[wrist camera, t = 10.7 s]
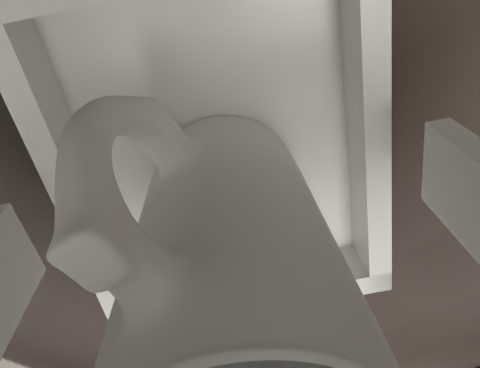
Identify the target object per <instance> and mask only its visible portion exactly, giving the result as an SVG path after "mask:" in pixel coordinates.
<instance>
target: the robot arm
mask: <svg viewBox="0 0 480 368" xmlns="http://www.w3.org/2000/svg"><path fill="white" fill-rule="evenodd" d="M421 199H422V200H423V201H424V202H425V203H426V204H427V205H428V207H429V208H430V209H431V210H432V211H433V212H434V213H435V215H436V216H437V217H438V218H439V219H440V220H441V221H442V223H443V224H444V225H445V226H446V227H447V228H448V229H449V231H450V232H451V233H452V234H453V235H454V236H455V237H456V238H457V240H458V241H459V242H460V243H461V244H462V245H463V246H464V248H465V249H466V250H467V251H468V252H469V253H470V254H471V256H472V257H473V258H474V259H475V260H476V261H477V262H478V264H479V265H480V137H479V136H477V135H476V134H474V133H473V132H471V131H470V130H468V129H467V128H465V127H464V126H462V125H461V124H459V123H458V122H456V121H455V120H453V119H452V118H445V119H440V120H435V121H429V122H425V133H424V153H423V172H422V192H421ZM45 271H46V268H45V266H44V264H43V262H42V260H41V259H40V257H39V255H38V253H37V251H36V249H35V248H34V246H33V244H32V242H31V240H30V239H29V237H28V235H27V233H26V231H25V229H24V228H23V226H22V224H21V222H20V220H19V218H18V217H17V215H16V213H15V211H14V209H13V208H12V206H11V204H10V203H7V204H2V205H0V360H1V358H2V356H3V354H4V352H5V350H6V348H7V346H8V344H9V342H10V340H11V338H12V336H13V334H14V332H15V330H16V328H17V326H18V324H19V322H20V320H21V318H22V316H23V314H24V312H25V310H26V308H27V307H28V305H29V303H30V301H31V299H32V297H33V295H34V293H35V291H36V289H37V287H38V285H39V283H40V281H41V279H42V277H43V275H44V273H45Z"/></svg>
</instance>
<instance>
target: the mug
mask: <svg viewBox="0 0 480 368" xmlns="http://www.w3.org/2000/svg"><path fill="white" fill-rule="evenodd" d="M117 136H124V137H126V138H128V139H130V140H132V141H133V142H135V143H136V144H138V145H139V146H140V147H141V148H142V149H143V150H144V151H145V152H146V153H147V155H148V156H149V157H150V158H151V159H152V161H153V162H154V163H155V165H156V168H155V170H154V173H153V176H152V179H151V182H150V185H149V188H148V192H147V195H146V198H145V202H144V205H143V209H142V212H141V215H140V219H139V222H138V223H137V221H136V220H135V219H134V217H133V216H132V214H131V212H130V210H129V208H128V207H127V205H126V203H125V201H124V199H123V197H122V194H121V192H120V189H119V187H118V184H117V181H116V178H115V174H114V171H113V166H112V156H111V154H112V146H113V142H114V139H115V138H116V137H117ZM46 258H47V261H48V262H49V263H50V264H51V265H53V266H55V267H56V268H58V269H59V270H61V271H62V272H64V273H65V274H67V275H68V276H69V277H70V278H72V279H73V280H74V281H75V282H77V283H78V284H79V285H80V286H82V287H83V288H84V289H86V290H87V291H90V292H93V293H100V292H104V291H109V292H110V293H111V294H112V295H113V296H114V297H115V300H114V303H113V306H112V310H111V313H110V316H109V319H108V323H107V326H106V329H105V332H104V336H103V339H102V342H101V346H100V349H99V352H98V355H97V359H96V362H95V366H94V368H400V367H399V365H398V363H397V361H396V359H395V357H394V355H393V353H392V351H391V349H390V347H389V345H388V343H387V341H386V339H385V337H384V335H383V333H382V331H381V329H380V327H379V325H378V323H377V321H376V319H375V317H374V315H373V313H372V311H371V309H370V307H369V305H368V303H367V301H366V299H365V297H364V295H363V293H362V291H361V289H360V287H359V285H358V283H357V282H356V280H355V278H354V276H353V274H352V272H351V270H350V268H349V266H348V264H347V262H346V260H345V258H344V256H343V254H342V252H341V250H340V248H339V246H338V244H337V242H336V240H335V239H334V237H333V235H332V233H331V231H330V229H329V227H328V225H327V223H326V221H325V219H324V217H323V215H322V213H321V211H320V209H319V207H318V205H317V203H316V201H315V199H314V197H313V195H312V193H311V191H310V189H309V187H308V185H307V183H306V181H305V179H304V177H303V175H302V173H301V171H300V169H299V167H298V165H297V164H296V162H295V160H294V158H293V157H292V155H291V153H290V151H289V150H288V148H287V146H286V145H285V144H284V142H283V141H282V140H281V139H280V138H279V136H278V135H276V134H275V133H274V132H273V131H272V130H270V129H269V128H267V127H266V126H264V125H262V124H261V123H259V122H256V121H254V120H251V119H248V118H244V117H239V116H228V115H226V116H214V117H209V118H205V119H202V120H199V121H197V122H194V123H192V124H190V125H188V126H187V127H185V128H184V129H181V128H180V126H179V125H178V124H177V123H176V121H175V120H174V119H173V117H172V116H171V115H170V113H169V112H168V111H167V109H166V108H165V107H164V106H163V104H162V103H161V102H160V101H159V100H157V99H155V98H151V97H137V96H120V95H115V96H104V97H100V98H97V99H94V100H92V101H90V102H88V103H86V104H85V105H83V106H82V107H81V108H79V109H78V110H77V111H76V112H75V113H74V114H73V115H72V116H71V117H70V118H69V120H68V121H67V123H66V124H65V127H64V129H63V131H62V134H61V138H60V141H59V146H58V151H57V158H56V167H55V227H54V234H53V238H52V240H51V243H50V245H49V247H48V249H47V253H46Z"/></svg>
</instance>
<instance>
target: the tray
mask: <svg viewBox="0 0 480 368" xmlns="http://www.w3.org/2000/svg"><path fill="white" fill-rule="evenodd" d="M0 93H1V95H2V97H3V99H4V101H5V103H6V106H7V108H8V110H9V112H10V114H11V116H12V118H13V120H14V122H15V125H16V127H17V129H18V131H19V133H20V135H21V137H22V139H23V141H24V144H25V146H26V148H27V150H28V152H29V154H30V156H31V158H32V160H33V163H34V165H35V167H36V169H37V171H38V173H39V175H40V177H41V179H42V182H43V184H44V186H45V188H46V190H47V192H48V194H49V196H50V198H51V201H52V203H53V205H54V207H55V167H56V158H57V151H58V146H59V141H60V138H61V134H62V131H63V129H64V127H65V124H66V123H67V121H68V120H69V118H70V117H71V116H72V115H73V114H74V113H75V112H76V111H77V110H78V109H79V108H81V107H82V106H83V105H85V104H86V103H88V102H90V101H92V100H94V99H97V98H100V97H104V96H115V95H120V96H137V97H151V98H155V99H157V100H159V101H160V102H161V103H162V104H163V106H164V107H165V108H166V109H167V111H168V112H169V113H170V115H171V116H172V117H173V119H174V120H175V121H176V123H177V124H178V125H179V126H180V128H181V129H184V128H185V127H187V126H188V125H190V124H192V123H194V122H197V121H199V120H202V119H205V118H209V117H214V116H226V115H228V116H239V117H244V118H248V119H251V120H254V121H256V122H259V123H261V124H262V125H264V126H266V127H267V128H269V129H270V130H272V131H273V132H274V133H275V134H276V135H278V136H279V138H280V139H281V140H282V141H283V142H284V144H285V145H286V146H287V148H288V150H289V151H290V153H291V155H292V157H293V158H294V160H295V162H296V164H297V165H298V167H299V169H300V171H301V173H302V175H303V177H304V179H305V181H306V183H307V185H308V187H309V189H310V191H311V193H312V195H313V197H314V199H315V201H316V203H317V205H318V207H319V209H320V211H321V213H322V215H323V217H324V219H325V221H326V223H327V225H328V227H329V229H330V231H331V233H332V235H333V237H334V239H335V240H336V242H337V244H338V246H339V248H340V250H341V252H342V254H343V256H344V258H345V260H346V262H347V264H348V266H349V268H350V270H351V272H352V274H353V276H354V278H355V280H356V282H357V283H358V285H359V287H360V289H361V291H362V293H363V295H364V294H369V293H375V292H380V291H385V290H391V289H392V0H0ZM111 156H112V166H113V171H114V174H115V178H116V181H117V184H118V187H119V189H120V192H121V194H122V197H123V199H124V201H125V203H126V205H127V207H128V208H129V210H130V212H131V214H132V216H133V217H134V219H135V220H136V221H137V223H138V222H139V219H140V215H141V212H142V209H143V205H144V202H145V198H146V195H147V192H148V188H149V185H150V182H151V179H152V176H153V173H154V170H155V168H156V165H155V163H154V162H153V161H152V159H151V158H150V157H149V156H148V155H147V153H146V152H145V151H144V150H143V149H142V148H141V147H140V146H139V145H138V144H136V143H135V142H133V141H132V140H130V139H128V138H126V137H124V136H117V137H116V138H115V139H114V142H113V146H112V154H111ZM95 294H96V296H97V298H98V300H99V302H100V304H101V306H102V308H103V310H104V313H105V315H106V317H107V319H109V316H110V313H111V310H112V306H113V303H114V300H115V297H114V296H113V295H112V294H111V293H110V292H109V291H104V292H100V293H95Z"/></svg>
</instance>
